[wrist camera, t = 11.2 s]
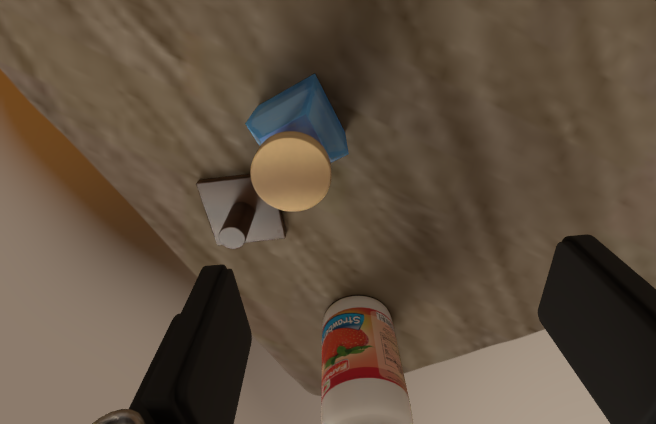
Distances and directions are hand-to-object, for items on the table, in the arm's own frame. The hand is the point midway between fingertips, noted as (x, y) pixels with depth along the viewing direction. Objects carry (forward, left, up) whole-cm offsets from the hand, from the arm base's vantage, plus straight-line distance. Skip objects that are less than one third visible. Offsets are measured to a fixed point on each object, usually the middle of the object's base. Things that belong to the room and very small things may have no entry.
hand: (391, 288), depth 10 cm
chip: (+2, -4, -14) cm, 15 cm away
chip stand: (+10, -12, -26) cm, 31 cm away
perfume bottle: (+1, -4, -26) cm, 27 cm away
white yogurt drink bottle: (+29, -1, -26) cm, 40 cm away
